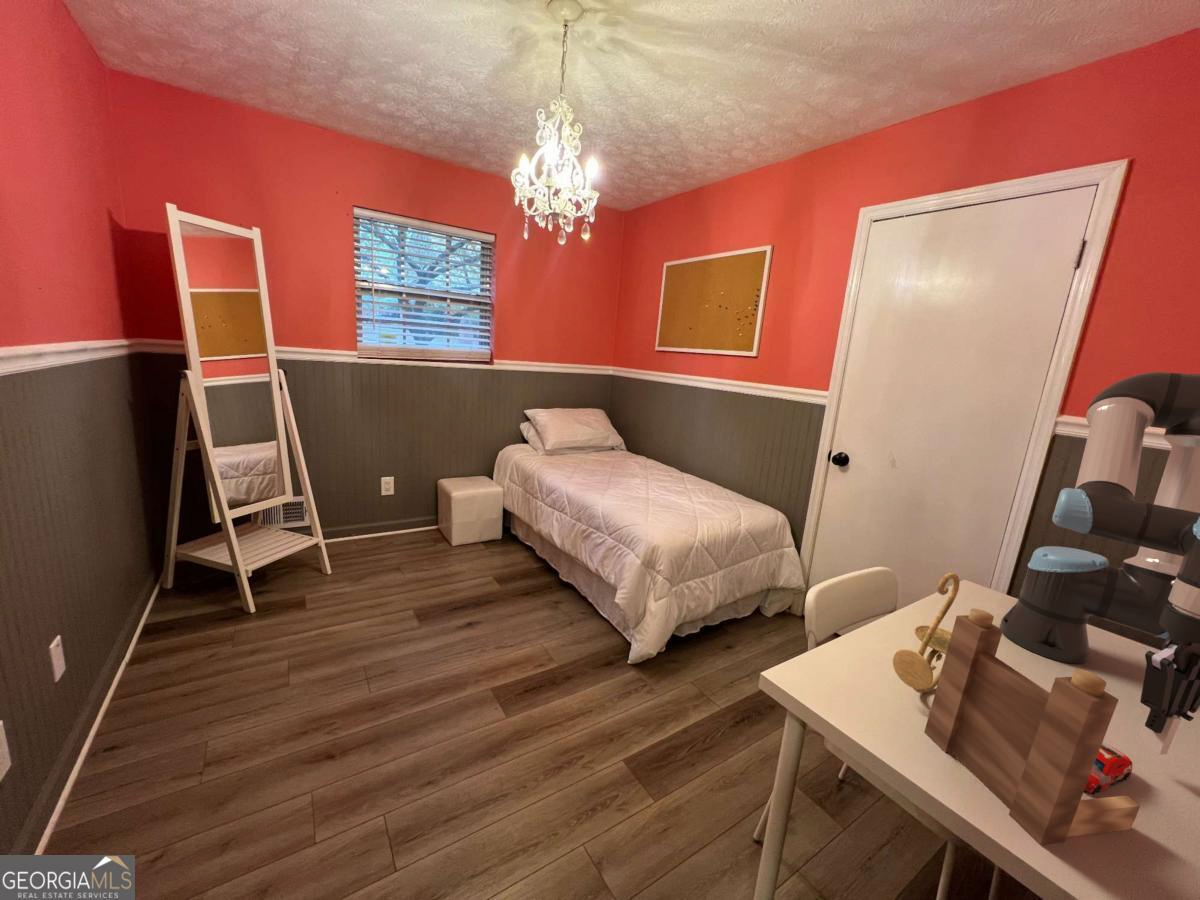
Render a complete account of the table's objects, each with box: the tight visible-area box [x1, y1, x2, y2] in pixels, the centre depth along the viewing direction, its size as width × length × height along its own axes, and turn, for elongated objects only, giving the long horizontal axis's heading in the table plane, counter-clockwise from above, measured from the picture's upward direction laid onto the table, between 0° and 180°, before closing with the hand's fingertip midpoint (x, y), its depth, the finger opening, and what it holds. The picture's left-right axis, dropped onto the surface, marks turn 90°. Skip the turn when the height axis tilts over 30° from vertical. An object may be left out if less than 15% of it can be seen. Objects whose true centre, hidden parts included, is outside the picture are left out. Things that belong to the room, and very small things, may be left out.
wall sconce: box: [892, 572, 960, 694], centre depth 84 cm, size 14×10×25 cm
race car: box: [1084, 741, 1133, 795], centre depth 71 cm, size 13×5×4 cm, turn 108°
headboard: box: [924, 608, 1141, 846], centre depth 67 cm, size 16×18×24 cm
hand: (1151, 746), depth 73 cm, fingers closed
